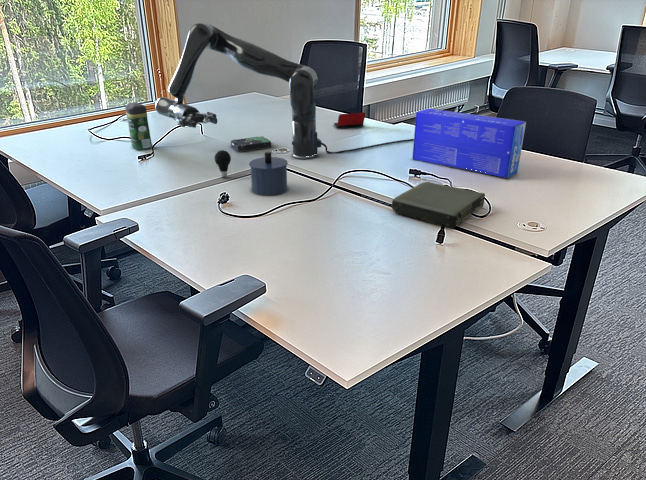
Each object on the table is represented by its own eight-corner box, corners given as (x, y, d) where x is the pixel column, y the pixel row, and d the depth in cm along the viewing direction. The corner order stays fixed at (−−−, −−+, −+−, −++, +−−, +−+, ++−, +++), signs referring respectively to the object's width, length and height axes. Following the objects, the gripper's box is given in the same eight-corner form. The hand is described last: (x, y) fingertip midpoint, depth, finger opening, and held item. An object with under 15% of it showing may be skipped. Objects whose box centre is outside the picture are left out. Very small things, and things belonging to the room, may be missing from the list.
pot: (282, 182, 207) (281, 157, 203) (290, 193, 197) (290, 167, 193) (249, 185, 205) (247, 160, 200) (256, 197, 195) (254, 171, 190)
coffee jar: (129, 146, 254) (122, 102, 244) (146, 143, 257) (140, 100, 248) (136, 151, 246) (129, 106, 237) (154, 148, 250) (147, 103, 240)
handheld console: (359, 123, 277) (359, 107, 273) (365, 128, 268) (366, 112, 264) (333, 125, 275) (333, 109, 271) (338, 130, 266) (339, 114, 262)
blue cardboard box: (518, 173, 207) (527, 121, 198) (507, 180, 202) (516, 126, 193) (423, 154, 231) (427, 106, 221) (411, 159, 225) (415, 110, 216)
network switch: (462, 232, 166) (465, 215, 163) (386, 217, 177) (387, 201, 174) (486, 205, 183) (488, 190, 180) (415, 193, 194) (416, 178, 191)
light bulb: (234, 175, 215) (232, 148, 210) (228, 180, 210) (226, 153, 205) (220, 174, 217) (218, 147, 212) (213, 179, 212) (211, 152, 207)
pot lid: (282, 158, 203) (282, 145, 201) (291, 169, 193) (291, 155, 190) (246, 162, 201) (245, 149, 199) (253, 173, 190) (252, 159, 188)
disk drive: (238, 153, 241) (271, 147, 245) (238, 146, 239) (271, 140, 244) (230, 146, 249) (262, 141, 254) (230, 140, 247) (262, 135, 252)
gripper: (168, 107, 219) (186, 115, 207) (201, 102, 226) (221, 109, 214) (170, 128, 223) (189, 136, 211) (203, 122, 230) (223, 130, 218)
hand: (205, 123), depth 213 cm, fingers open, 8 cm apart
